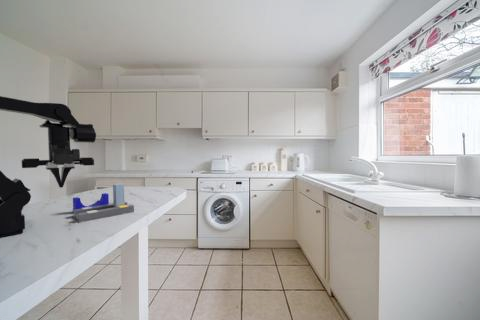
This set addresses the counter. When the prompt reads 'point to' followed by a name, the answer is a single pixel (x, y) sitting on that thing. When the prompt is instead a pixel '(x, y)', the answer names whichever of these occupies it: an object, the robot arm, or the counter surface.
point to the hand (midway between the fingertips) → (61, 187)
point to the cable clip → (102, 201)
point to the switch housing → (101, 211)
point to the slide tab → (118, 195)
